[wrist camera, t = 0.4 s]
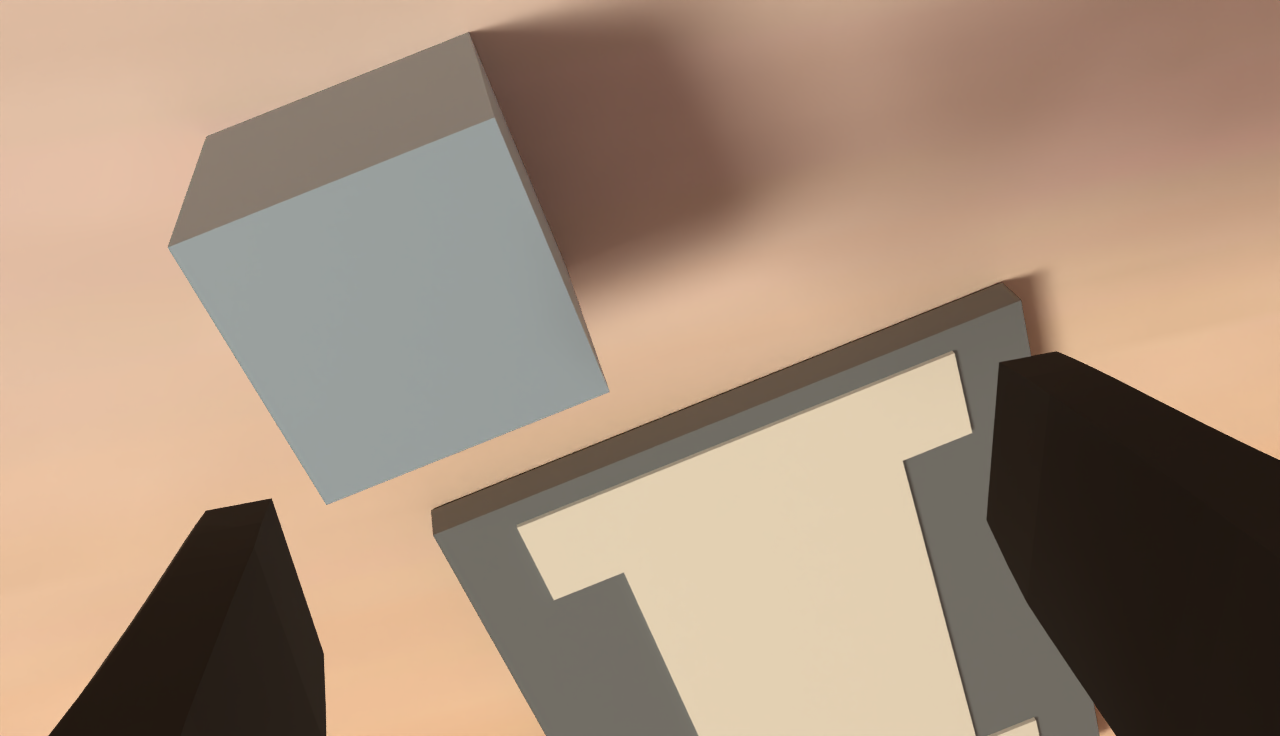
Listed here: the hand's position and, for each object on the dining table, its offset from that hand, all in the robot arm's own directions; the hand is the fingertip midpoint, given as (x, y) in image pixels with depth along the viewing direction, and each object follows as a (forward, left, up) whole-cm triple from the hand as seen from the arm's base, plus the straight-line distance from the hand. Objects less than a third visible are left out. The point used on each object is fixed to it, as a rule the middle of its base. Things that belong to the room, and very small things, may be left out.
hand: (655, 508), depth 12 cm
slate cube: (-2, 0, -10) cm, 10 cm away
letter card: (+2, -13, -10) cm, 16 cm away
